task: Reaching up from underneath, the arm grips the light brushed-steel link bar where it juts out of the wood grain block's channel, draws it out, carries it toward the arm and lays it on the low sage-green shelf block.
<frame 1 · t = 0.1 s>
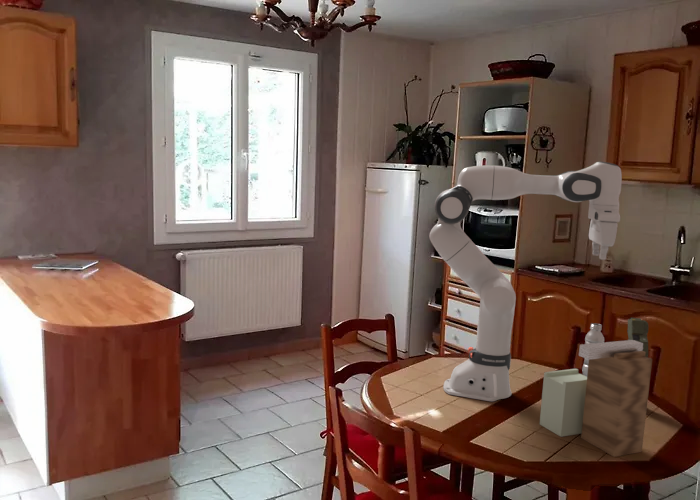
hand: (598, 257, 199), 48 cm above the table, tool pointing down, fingers open, 8 cm apart
plastic bottle: (591, 377, 231), on the table
mechanical leg: (630, 406, 203), on the table
shelf block: (566, 427, 184), on the table
link bar: (610, 354, 168), point 26 cm above the table, touching wood grain block
wood grain block: (610, 444, 173), on the table
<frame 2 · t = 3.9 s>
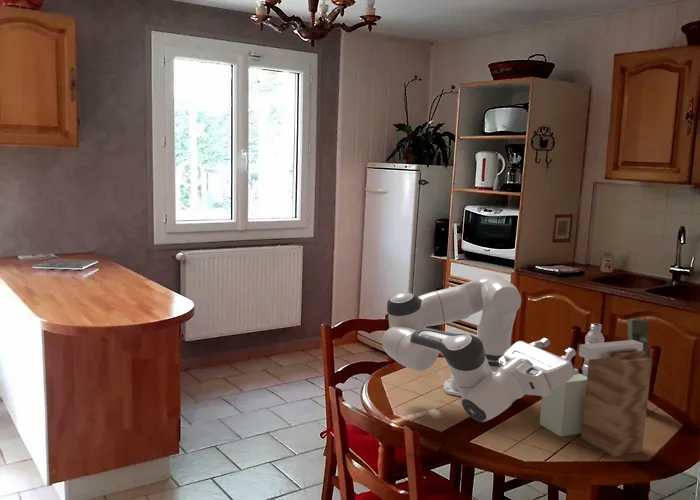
hand: (560, 345, 161), 30 cm above the table, tool pointing upward, fingers open, 8 cm apart
nothing on the table moved.
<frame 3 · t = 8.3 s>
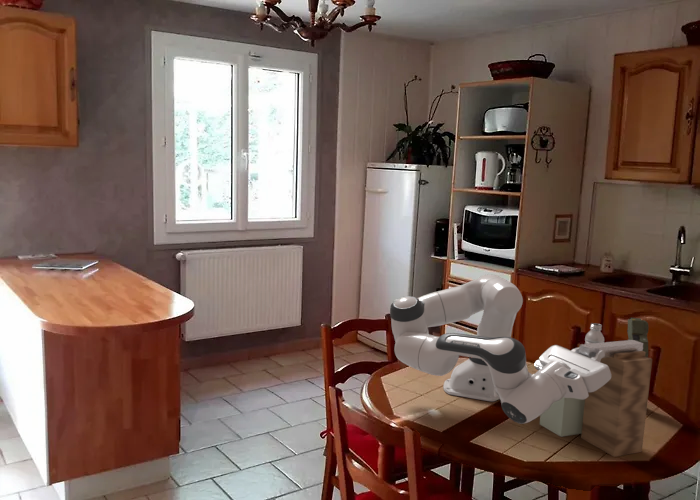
hand: (595, 349, 166), 28 cm above the table, tool pointing upward, fingers closed on link bar, 3 cm apart
link bar: (610, 354, 169), point 26 cm above the table, touching gripper
everything else where it was.
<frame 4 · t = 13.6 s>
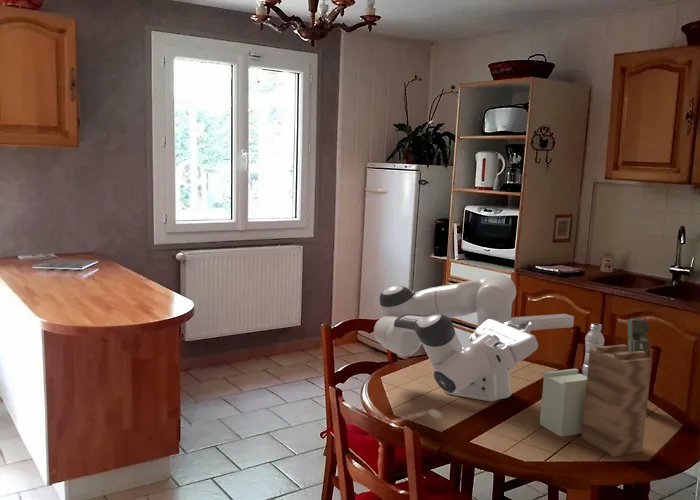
hand: (526, 322, 172), 33 cm above the table, tool pointing upward, fingers closed on link bar, 3 cm apart
link bar: (542, 327, 174), point 31 cm above the table, touching gripper
everything else where it was.
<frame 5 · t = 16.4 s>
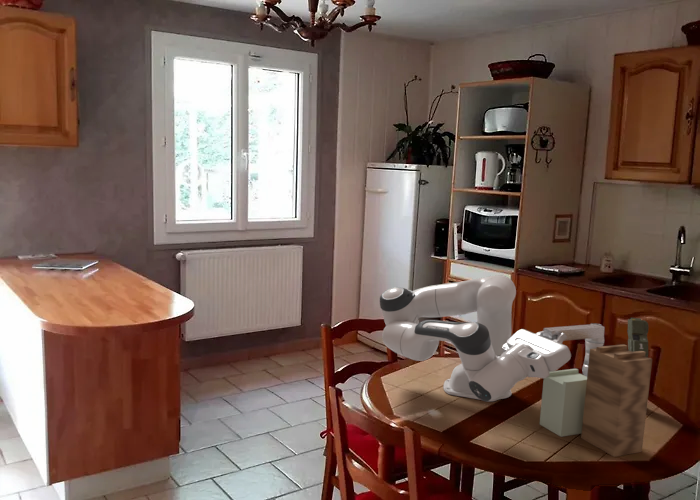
hand: (558, 332, 177), 29 cm above the table, tool pointing upward, fingers closed on link bar, 3 cm apart
link bar: (573, 337, 179), point 27 cm above the table, touching gripper
everything else where it was.
when the fingers open (19 cm above the table, at t = 18.9 s): link bar drops 2 cm, resting on shelf block.
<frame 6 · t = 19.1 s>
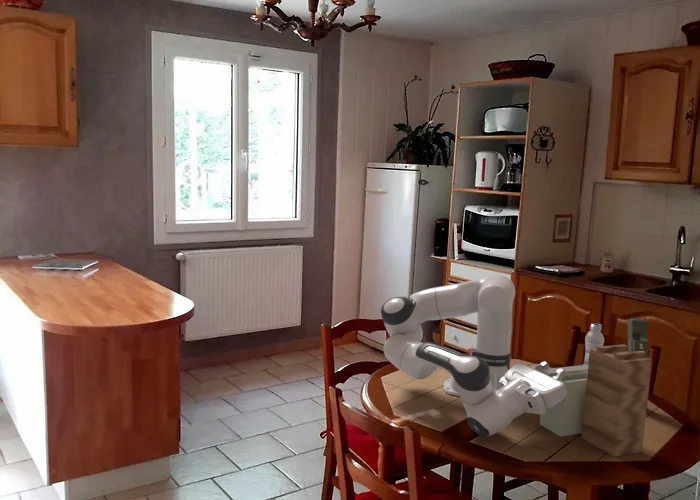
hand: (555, 367, 179), 19 cm above the table, tool pointing upward, fingers open, 5 cm apart
link bar: (569, 378, 181), point 15 cm above the table, touching shelf block
everything else where it was.
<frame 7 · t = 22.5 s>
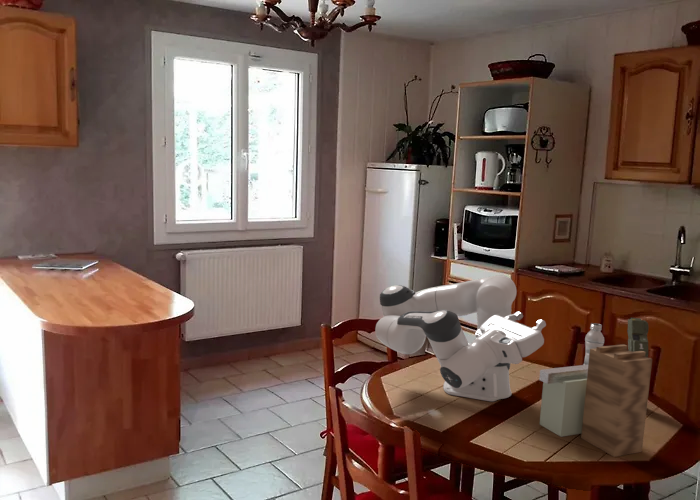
hand: (532, 317, 173), 34 cm above the table, tool pointing upward, fingers open, 8 cm apart
nothing on the table moved.
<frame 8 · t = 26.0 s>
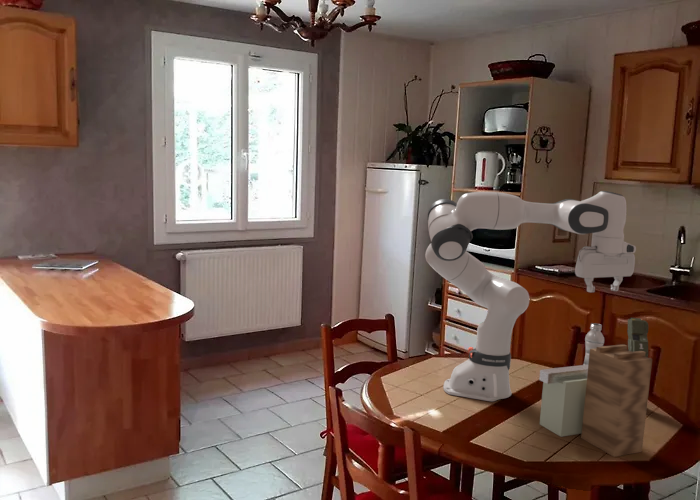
hand: (602, 291, 189), 39 cm above the table, tool pointing down, fingers open, 8 cm apart
nothing on the table moved.
at the end: link bar inside the target area on the shelf block (0.6 cm from its centre), point 15.0 cm above the shelf block's base; link bar touching shelf block; the gripper is holding nothing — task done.
